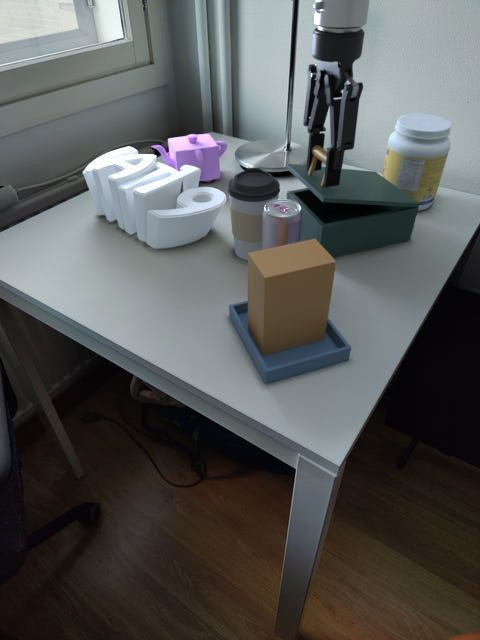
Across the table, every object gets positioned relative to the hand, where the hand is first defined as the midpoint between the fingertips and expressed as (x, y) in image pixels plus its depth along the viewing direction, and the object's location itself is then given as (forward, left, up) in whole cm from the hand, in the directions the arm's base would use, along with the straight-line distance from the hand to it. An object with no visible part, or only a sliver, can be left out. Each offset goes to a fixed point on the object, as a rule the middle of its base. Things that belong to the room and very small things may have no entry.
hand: (322, 177), depth 83 cm
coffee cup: (0, +13, -13) cm, 18 cm away
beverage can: (-12, +13, -13) cm, 22 cm away
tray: (-24, +17, -12) cm, 32 cm away
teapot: (+36, +15, -13) cm, 41 cm away
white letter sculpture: (+20, +28, -13) cm, 37 cm away
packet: (-24, +17, -12) cm, 32 cm away
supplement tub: (+7, -26, -13) cm, 30 cm away
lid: (0, -6, -3) cm, 7 cm away
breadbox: (0, -7, -12) cm, 14 cm away
